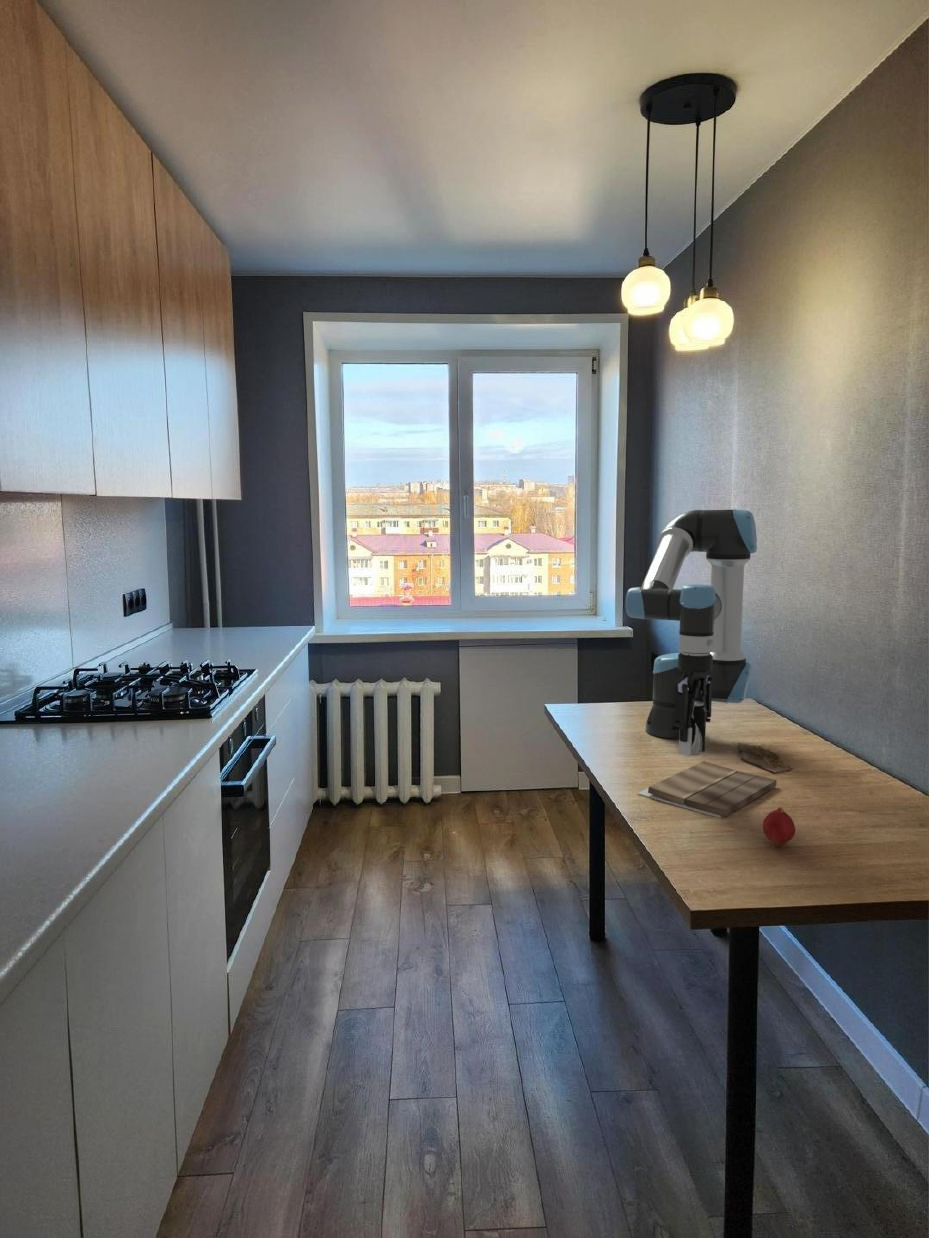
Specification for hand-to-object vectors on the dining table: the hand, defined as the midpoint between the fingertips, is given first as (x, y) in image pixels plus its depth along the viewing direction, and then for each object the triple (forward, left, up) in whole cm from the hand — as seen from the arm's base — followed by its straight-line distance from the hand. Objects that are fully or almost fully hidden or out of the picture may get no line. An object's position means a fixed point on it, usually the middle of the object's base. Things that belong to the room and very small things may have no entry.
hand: (691, 751), depth 178 cm
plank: (-2, 0, -8) cm, 9 cm away
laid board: (-2, +9, -9) cm, 13 cm away
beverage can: (0, 0, -1) cm, 1 cm away
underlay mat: (-2, +3, -9) cm, 10 cm away
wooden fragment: (-34, +1, -10) cm, 36 cm away
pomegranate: (+17, +27, -9) cm, 33 cm away
